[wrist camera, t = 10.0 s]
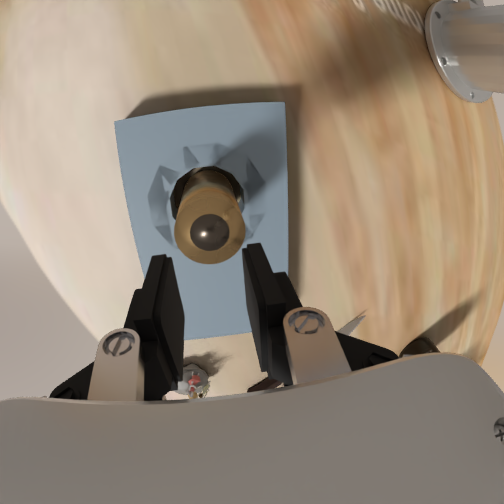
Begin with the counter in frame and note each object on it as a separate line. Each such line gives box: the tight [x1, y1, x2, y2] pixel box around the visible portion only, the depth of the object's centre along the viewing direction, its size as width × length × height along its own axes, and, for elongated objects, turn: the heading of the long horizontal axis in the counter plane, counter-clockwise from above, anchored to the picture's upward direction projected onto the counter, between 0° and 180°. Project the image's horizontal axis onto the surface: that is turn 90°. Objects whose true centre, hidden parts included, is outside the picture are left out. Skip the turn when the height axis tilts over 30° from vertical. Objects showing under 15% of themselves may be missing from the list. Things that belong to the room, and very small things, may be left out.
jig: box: [114, 102, 288, 340], centre depth 23 cm, size 20×12×2 cm, turn 3°
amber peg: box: [174, 170, 246, 264], centre depth 19 cm, size 4×4×8 cm
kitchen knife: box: [247, 315, 366, 393], centre depth 33 cm, size 18×1×2 cm, turn 131°
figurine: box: [175, 363, 211, 399], centre depth 30 cm, size 5×4×6 cm
